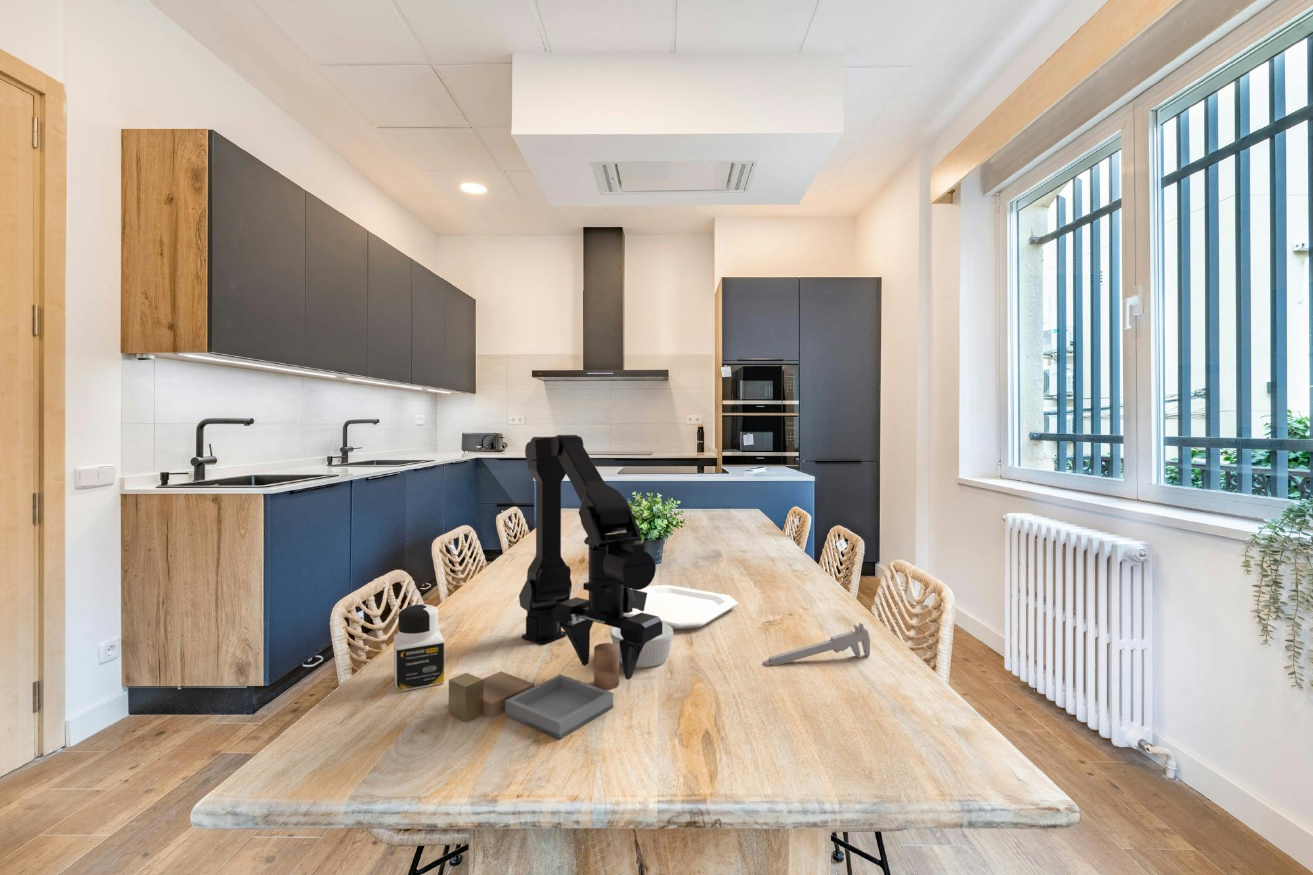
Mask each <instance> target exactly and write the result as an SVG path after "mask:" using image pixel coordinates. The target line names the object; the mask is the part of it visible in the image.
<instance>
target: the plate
mask: <svg viewBox="0 0 1313 875" xmlns="http://www.w3.org/2000/svg"><path fill="white" fill-rule="evenodd" d="M637 591H642V592H646V593H647V598H646V603H645V608H644V611H640V610H638V609H635V608H633V611H632V612H630V613H624V616H625V617H632V616H634V615H636V614H639V613H646V614H650V615H654V616H658V617H659V618H660V619H661V621H662V622H663V623H665V624H667V625H669V626H670V627H671V628H672V629H673V630H688V629H689V630H690V629H697V628H701V627H703V626H705V625H706V624H708V623H709V622H711V621H713V620H715V619H716V618H718V617H720V616H721V615H723V614H724V613H726V612H728V611H730V610H731V609H733V608H734V607H736V606H738V604H739V603H738V601H736V599H734V598H733V597H732V596H731V595H729V594H722V593H717V592H710V591H706V590H699V589H695V588H694V589H693V588H688V587H682V586H677V585H671V584H663V585H662V584H659V585H648V586H647V587H645V588H643V589H641V590H637Z"/></svg>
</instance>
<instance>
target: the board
mask: <svg viewBox="0 0 1313 875" xmlns="http://www.w3.org/2000/svg"><path fill="white" fill-rule="evenodd" d="M482 679H483V714H482V715H485V716H487V717H490V718H491V719H494V718H495V717H497V716H498V717H499V715H501V714H503V713H505V700H507V699H510V698H512V697H514V696H516V695H518V694H520V693H522V692H524V691H526V690H529V689H531V688H533V687H535V686H536V684H535V683H533V682H531V681H528V680H525V679H522V678H519V677H518V676H515V675H511V674H509V673H507V672H504V671H501V670H500V671H498V672H496V673H493V674H491V675H489V676H486V677H484V678H482Z"/></svg>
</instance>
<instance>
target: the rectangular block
mask: <svg viewBox="0 0 1313 875" xmlns="http://www.w3.org/2000/svg"><path fill="white" fill-rule="evenodd" d="M483 679H484V678H480V677H478V676H475V675H473V674H471V673H469V672H465V673H463V674H460V675H457V676H455V677H452V678H450V679H448V714H449V716H452V717H454V718H456V719H459V720H461V721H462V722H465V723H467V722H469V721H472V720H474V719H476V718H478V717H479V716H482V715H484V714H483Z"/></svg>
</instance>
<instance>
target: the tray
mask: <svg viewBox="0 0 1313 875" xmlns="http://www.w3.org/2000/svg"><path fill="white" fill-rule="evenodd" d="M612 709H614V692H611V691H610V690H603V689H600V688H597V687H595V686H594V685H591V684H588V683H586V682H583V681H580V680H577V679H574V678H571V677H570V676H569V677H568V676H566V675H562V674H558V675H556V676H554V677H553V678H552V677H551V678H550V679H547V680H546V681H543V682H541V683H538V685H535V687H533V688H531V689H529V690H526V691H524V692H522V693H520V694H518V695H516V696H514V697H512V698H510V699H507V700H505V712H504V713H505V714H504V716H505V717H507V718H509V719H511V720H514V721H516V722H519V723H521V724H523V725H526V726H528V727H530V728H532V729H535V730H537V731H539V732H542V733H544V734H546V735H548V736H551V737H553V738H555V739H557V740H561V739H563V738H565V737H567V736H568V735H570V734H572V733H573V732H576V730H578V729H580V728H581V727H583V726H585V725H586V724H588V723H590V722H591V721H593V720H595V719H597V718H598V717H600V716H602V715H604V713H607V712H608V711H610V710H612Z"/></svg>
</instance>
